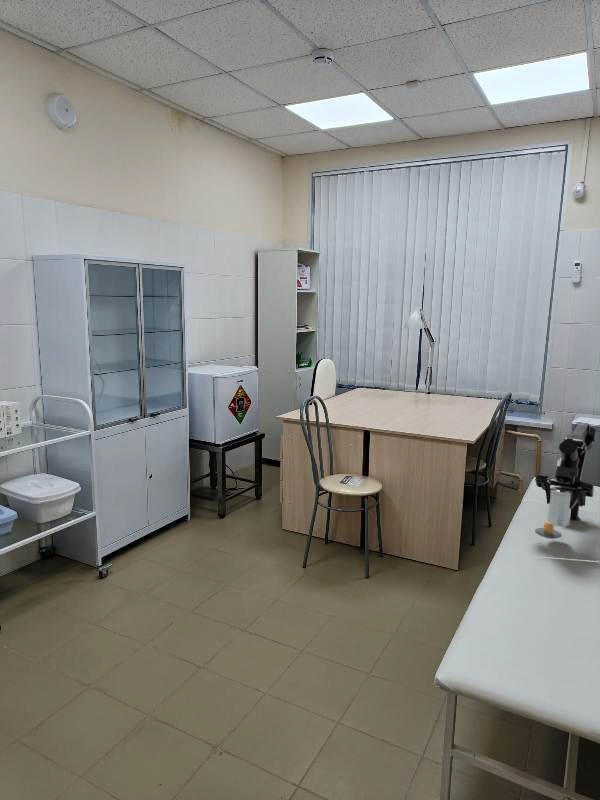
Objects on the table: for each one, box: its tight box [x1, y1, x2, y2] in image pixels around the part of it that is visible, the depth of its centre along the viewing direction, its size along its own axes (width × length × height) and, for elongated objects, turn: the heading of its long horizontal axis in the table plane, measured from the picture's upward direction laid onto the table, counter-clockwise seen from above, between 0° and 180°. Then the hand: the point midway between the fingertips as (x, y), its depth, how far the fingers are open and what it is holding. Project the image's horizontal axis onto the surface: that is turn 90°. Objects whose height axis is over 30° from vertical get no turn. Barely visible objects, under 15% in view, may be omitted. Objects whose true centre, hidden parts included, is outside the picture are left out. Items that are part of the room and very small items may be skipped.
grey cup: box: [546, 486, 573, 528], centre depth 196 cm, size 7×7×12 cm
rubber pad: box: [534, 527, 563, 539], centre depth 204 cm, size 9×9×1 cm
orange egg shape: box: [543, 520, 555, 535], centre depth 203 cm, size 3×3×4 cm
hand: (559, 506), depth 195 cm, fingers closed on grey cup, 7 cm apart
